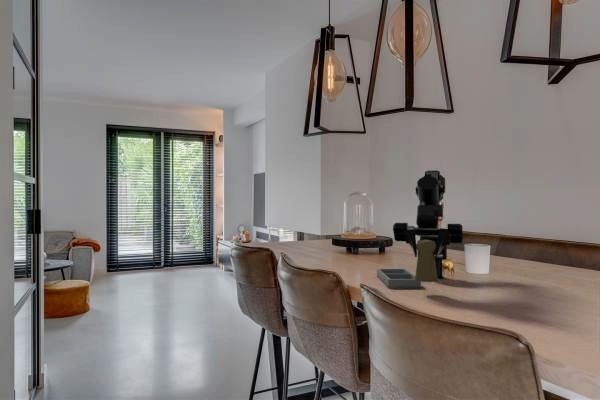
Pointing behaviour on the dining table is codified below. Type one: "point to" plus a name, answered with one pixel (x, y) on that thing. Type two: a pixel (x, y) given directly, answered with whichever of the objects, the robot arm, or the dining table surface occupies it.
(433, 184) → the robot arm
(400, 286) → the grey divided tray
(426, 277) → the olive green upright block
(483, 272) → the dining table surface
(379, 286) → the dining table surface
